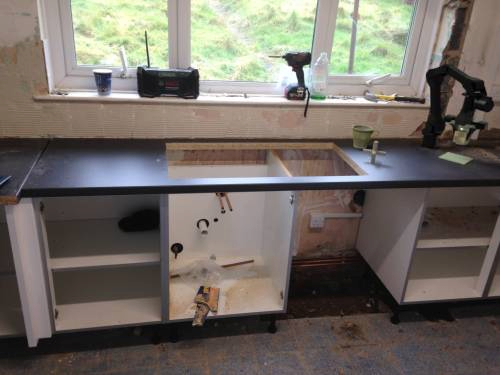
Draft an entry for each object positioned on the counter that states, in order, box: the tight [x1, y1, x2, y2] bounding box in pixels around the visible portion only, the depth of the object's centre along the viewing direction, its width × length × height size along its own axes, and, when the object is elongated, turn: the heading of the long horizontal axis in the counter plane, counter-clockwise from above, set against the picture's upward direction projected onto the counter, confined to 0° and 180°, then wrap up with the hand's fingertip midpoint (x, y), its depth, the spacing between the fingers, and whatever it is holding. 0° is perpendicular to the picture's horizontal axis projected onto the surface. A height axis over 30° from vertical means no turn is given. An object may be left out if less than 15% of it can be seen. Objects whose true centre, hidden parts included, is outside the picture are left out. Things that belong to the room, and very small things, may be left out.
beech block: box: [452, 129, 468, 144], centre depth 201 cm, size 5×5×5 cm
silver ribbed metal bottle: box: [455, 115, 476, 146], centre depth 223 cm, size 6×7×20 cm
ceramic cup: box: [352, 124, 380, 150], centre depth 212 cm, size 13×10×10 cm
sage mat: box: [438, 151, 474, 166], centre depth 205 cm, size 12×12×1 cm
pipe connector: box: [362, 140, 387, 164], centre depth 192 cm, size 10×10×10 cm
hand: (460, 139), depth 201 cm, fingers closed on beech block, 5 cm apart
